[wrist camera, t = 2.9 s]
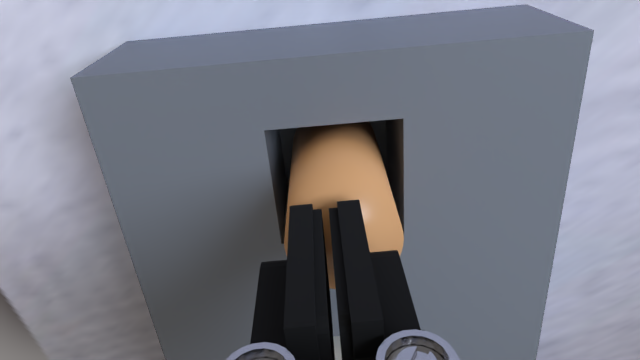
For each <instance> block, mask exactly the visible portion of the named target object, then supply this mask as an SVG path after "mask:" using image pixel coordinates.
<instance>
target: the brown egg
mask: <svg viewBox="0 0 640 360" xmlns="http://www.w3.org/2000/svg"><path fill="white" fill-rule="evenodd" d="M348 200H359V201H360V206H361V211H362V216H363V221H364V226H365V231H366V236H367V241H368V246H369V251H370V252H380V251H392V250H397V251H398V253H399V256H400V255H401V252H402V249H403V243H404V234H403V229H402V225H401V222H400V218H399V215H398V211H397V208H396V205H395V201H394V198H393V194H392V191H391V188H390V184H389V181H388V177H387V174H386V170H385V167H384V164H383V160H382V157H381V153H380V150H379V147H378V143H377V140H376V136H375V133H374V130H373V128H372V126H371V124H370V123H369V121H368V122H357V123H345V124H334V125H322V126H311V127H299V128H297V129H296V131H295V134H294V138H293V147H292V158H291V169H290V180H289V192H288V203H287V214H286V225H285V237H284V248H285V252H286V255H287V249H288V230H289V210H290V206H293V205H304V204H312V205H313V210H314V209H322V218H323V228H324V238H325V248H326V258H327V268H328V278H329V288H331V289H336V288H335V276H334V264H333V253H332V241H331V230H330V218H329V208H337V201H348Z"/></svg>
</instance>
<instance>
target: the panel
mask: <svg viewBox="0 0 640 360" xmlns="http://www.w3.org/2000/svg"><path fill="white" fill-rule="evenodd" d="M593 33H594V30H591V29H589V28H586V27H584V26H581V25H578V24H576V23H573V22H571V21H568V20H565V19H563V18H560V17H558V16H555V15H553V14H550V13H547V12H545V11H542V10H540V9H537V8H534V7H532V6H529V5H516V6H506V7H495V8H484V9H473V10H462V11H452V12H441V13H430V14H419V15H408V16H398V17H387V18H376V19H365V20H354V21H344V22H333V23H322V24H311V25H300V26H290V27H279V28H268V29H257V30H246V31H236V32H225V33H214V34H203V35H192V36H182V37H171V38H160V39H149V40H138V41H128V42H125V43H124V44H122V45H121V46H119V47H118V48H116V49H114V50H113V51H111V52H110V53H108V54H107V55H105V56H104V57H102V58H100V59H99V60H97V61H96V62H94V63H93V64H91V65H90V66H88V67H87V68H85V69H83V70H82V71H80V72H79V73H77V74H76V75H74V76H73V77H71V78H70V79H71V81H72V84H73V87H74V90H75V93H76V96H77V99H78V102H79V105H80V108H81V111H82V114H83V117H84V120H85V123H86V126H87V129H88V132H89V135H90V138H91V141H92V144H93V146H94V149H95V152H96V155H97V158H98V161H99V164H100V167H101V170H102V173H103V176H104V179H105V182H106V185H107V188H108V191H109V194H110V197H111V200H112V203H113V206H114V209H115V212H116V214H117V217H118V220H119V223H120V226H121V229H122V232H123V235H124V238H125V241H126V244H127V247H128V250H129V253H130V256H131V259H132V262H133V265H134V268H135V271H136V274H137V277H138V279H139V282H140V285H141V288H142V291H143V294H144V297H145V300H146V303H147V306H148V309H149V312H150V315H151V318H152V321H153V324H154V327H155V330H156V333H157V336H158V339H159V342H160V344H161V347H162V350H163V353H164V356H165V359H166V360H226V359H227V358H228V357H229V356H230V355H231V354H232V353H234V352H235V351H237V350H239V349H240V348H242V347H244V346H247V345H250V341H251V333H252V326H253V318H254V310H255V302H256V294H257V286H258V279H259V271H260V265H261V263H262V262H267V261H278V260H287V255H286V252H285V248H284V237H285V225H286V214H287V203H288V192H289V180H290V169H291V158H292V147H293V138H294V134H295V131H296V129H297V128H299V127H311V126H322V125H334V124H345V123H357V122H368V121H369V123H370V124H371V126H372V128H373V130H374V133H375V136H376V140H377V143H378V147H379V150H380V153H381V157H382V160H383V164H384V167H385V170H386V174H387V177H388V181H389V184H390V188H391V191H392V194H393V198H394V201H395V205H396V208H397V211H398V215H399V218H400V222H401V225H402V229H403V234H404V243H403V249H402V252H401V255H400V259H401V263H402V266H403V270H404V273H405V277H406V280H407V284H408V287H409V291H410V294H411V297H412V301H413V304H414V308H415V311H416V315H417V318H418V322H419V325H420V329H421V330H423V331H428V332H431V333H433V334H436V335H438V336H440V337H441V338H443V339H444V340H445V341H447V342H448V343H449V344H450V345H451V347H452V348H453V349H454V350H455V352H456V354H457V355H458V357H459V359H460V360H536V355H537V349H538V344H539V338H540V332H541V327H542V321H543V316H544V310H545V304H546V299H547V293H548V287H549V282H550V276H551V270H552V265H553V259H554V253H555V248H556V242H557V236H558V231H559V225H560V219H561V214H562V208H563V202H564V197H565V191H566V185H567V180H568V174H569V169H570V163H571V157H572V152H573V146H574V140H575V135H576V129H577V123H578V118H579V112H580V106H581V101H582V95H583V89H584V84H585V78H586V72H587V67H588V61H589V55H590V50H591V44H592V38H593ZM330 298H331V311H332V325H333V336H340V333H339V322H338V311H337V299H336V289H331V288H330Z"/></svg>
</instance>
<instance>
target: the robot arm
mask: <svg viewBox="0 0 640 360" xmlns="http://www.w3.org/2000/svg"><path fill="white" fill-rule="evenodd" d="M329 218H330V230H331V241H332V253H333V264H334V276H335V288H336V299H337V311H338V322H339V333H340V344H341V355H342V360H460V359H459V357H458V355H457V354H456V352H455V350H454V349H453V348H452V347H451V345H450V344H449V343H448V342H447V341H445V340H444V339H443V338H441V337H440V336H438V335H436V334H433V333H431V332H428V331H423V330H421V329H420V325H419V322H418V318H417V315H416V311H415V308H414V304H413V301H412V297H411V294H410V291H409V287H408V284H407V280H406V277H405V273H404V270H403V266H402V263H401V259H400V256H399V253H398V251H397V250H392V251H380V252H370V251H369V246H368V241H367V236H366V231H365V226H364V221H363V216H362V211H361V206H360V201H359V200H348V201H337V208H329ZM226 360H335V353H334V339H333V325H332V311H331V298H330V288H329V278H328V268H327V258H326V248H325V238H324V228H323V218H322V209H314V210H313V205H312V204H304V205H293V206H290V210H289V230H288V249H287V260H278V261H267V262H262V263H261V265H260V271H259V279H258V286H257V294H256V302H255V310H254V318H253V326H252V333H251V341H250V345H247V346H244V347H242V348H240V349H239V350H237V351H235V352H234V353H232V354H231V355H230V356H229V357H228V358H227V359H226Z"/></svg>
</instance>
